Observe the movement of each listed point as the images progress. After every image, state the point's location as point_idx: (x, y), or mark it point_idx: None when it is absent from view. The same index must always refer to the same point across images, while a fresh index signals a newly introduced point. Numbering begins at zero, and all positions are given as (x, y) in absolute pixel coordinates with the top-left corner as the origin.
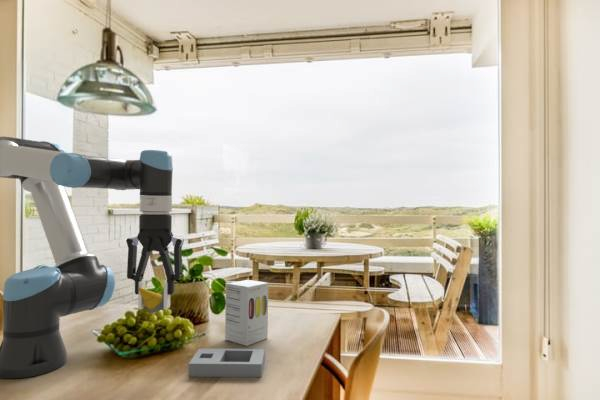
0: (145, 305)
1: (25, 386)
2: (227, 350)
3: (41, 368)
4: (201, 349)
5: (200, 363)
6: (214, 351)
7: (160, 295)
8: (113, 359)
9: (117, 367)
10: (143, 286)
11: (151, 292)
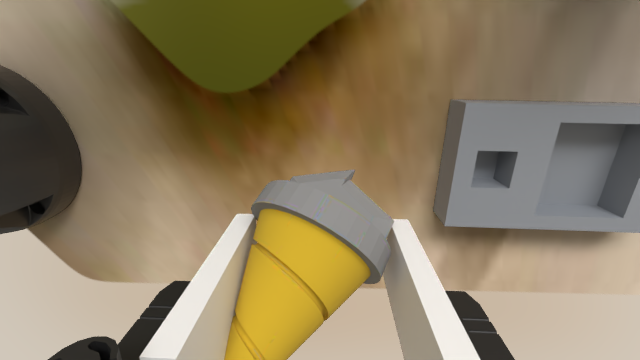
0: (254, 218)
1: (91, 251)
2: (567, 121)
3: (60, 205)
4: (474, 113)
5: (477, 226)
6: (521, 131)
7: (355, 275)
8: (184, 93)
9: (228, 153)
10: (209, 357)
11: (300, 339)
